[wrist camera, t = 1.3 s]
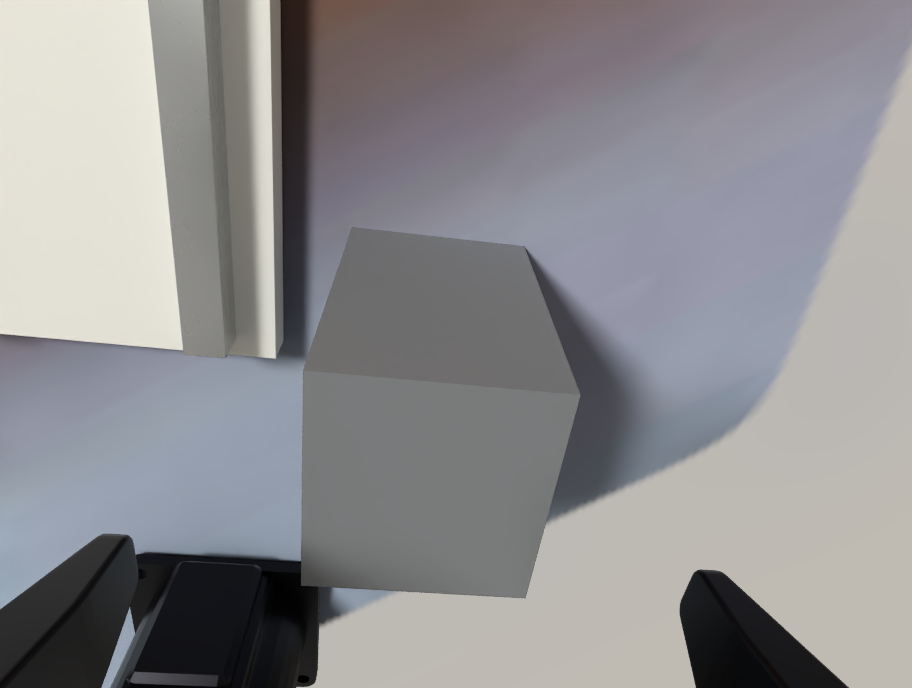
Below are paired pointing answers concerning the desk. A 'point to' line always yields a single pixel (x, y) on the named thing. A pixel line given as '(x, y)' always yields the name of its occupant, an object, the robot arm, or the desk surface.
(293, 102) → the desk surface
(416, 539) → the block
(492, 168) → the desk surface
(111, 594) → the robot arm
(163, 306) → the rail plate
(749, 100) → the desk surface
